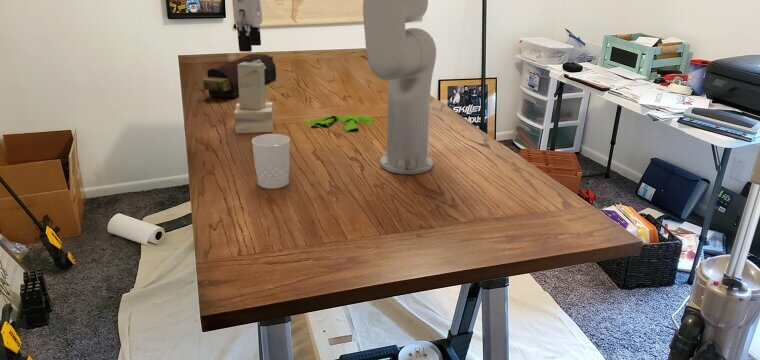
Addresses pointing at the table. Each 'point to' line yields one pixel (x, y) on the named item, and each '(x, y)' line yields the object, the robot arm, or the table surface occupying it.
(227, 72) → the packaged item
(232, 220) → the table surface
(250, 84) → the skincare box
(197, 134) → the table surface
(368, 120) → the cloth
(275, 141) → the white cup
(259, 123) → the maple block
